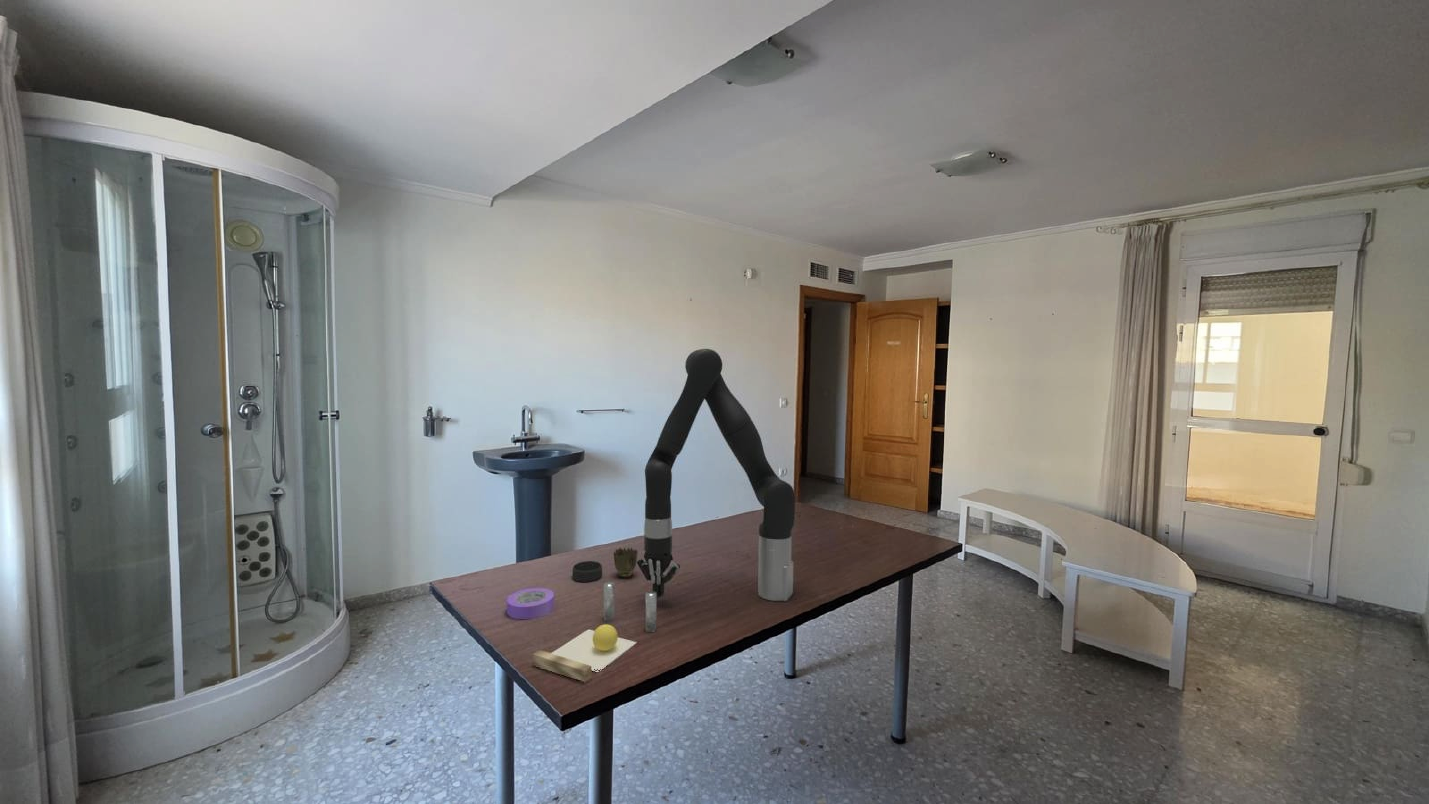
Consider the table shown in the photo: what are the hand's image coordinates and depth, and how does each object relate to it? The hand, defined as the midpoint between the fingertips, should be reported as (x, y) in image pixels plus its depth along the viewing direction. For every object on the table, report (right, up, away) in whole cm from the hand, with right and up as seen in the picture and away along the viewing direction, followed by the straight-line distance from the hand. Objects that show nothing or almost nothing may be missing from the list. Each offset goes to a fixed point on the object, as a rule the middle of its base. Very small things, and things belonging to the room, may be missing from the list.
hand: (658, 596), depth 140 cm
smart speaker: (-24, -2, +19) cm, 31 cm away
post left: (-12, -2, -9) cm, 15 cm away
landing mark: (-12, -3, -24) cm, 27 cm away
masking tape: (-33, -3, -4) cm, 34 cm away
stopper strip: (-16, -3, -33) cm, 37 cm away
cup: (-12, -2, +20) cm, 24 cm away
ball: (-9, 0, -24) cm, 26 cm away
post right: (0, -3, -15) cm, 15 cm away
